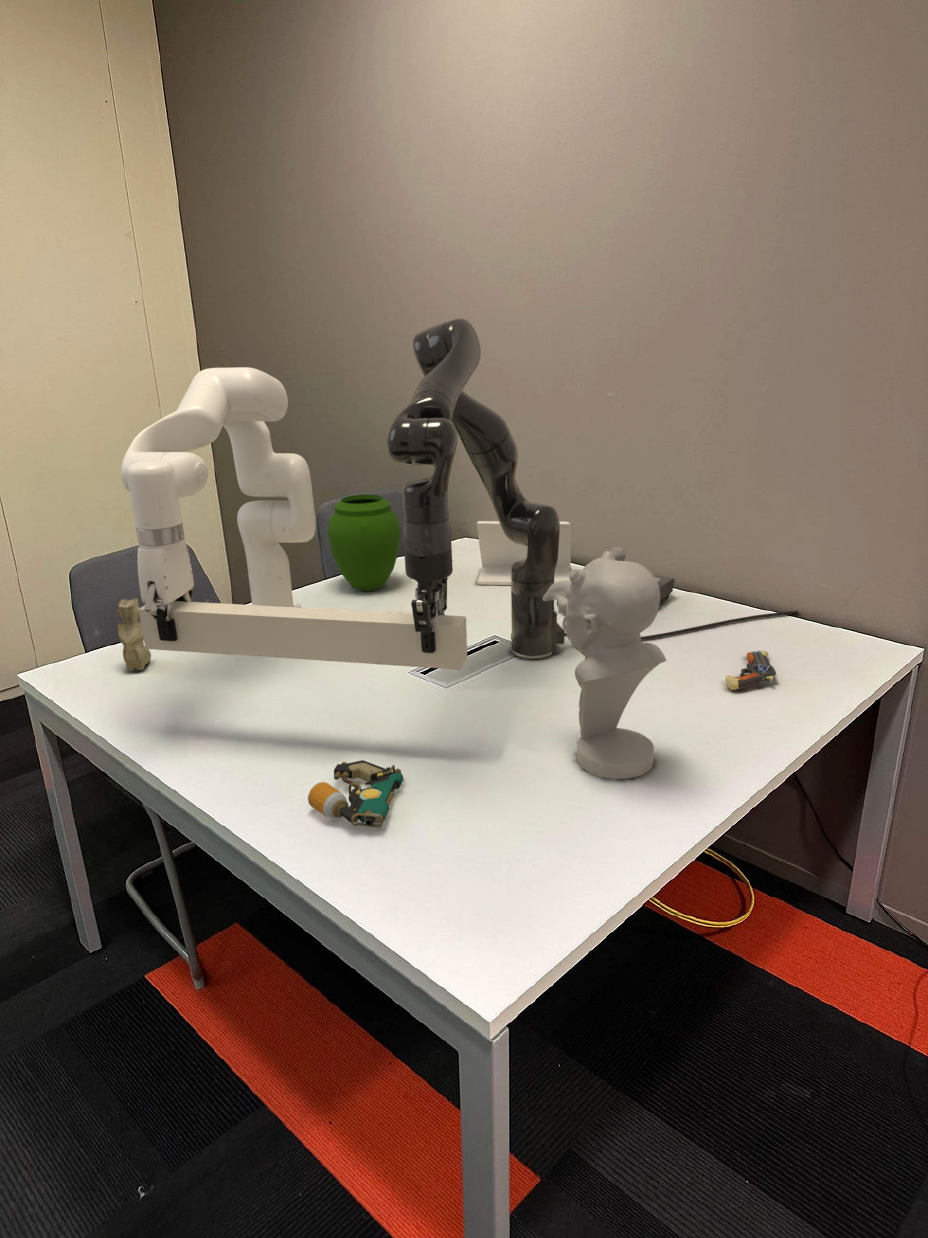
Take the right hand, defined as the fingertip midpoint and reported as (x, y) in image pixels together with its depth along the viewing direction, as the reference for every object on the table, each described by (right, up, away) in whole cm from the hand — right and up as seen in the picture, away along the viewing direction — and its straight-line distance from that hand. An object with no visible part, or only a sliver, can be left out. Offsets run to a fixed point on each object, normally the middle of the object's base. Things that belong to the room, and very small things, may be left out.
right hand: (433, 645), depth 141 cm
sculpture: (-66, -6, +45) cm, 80 cm away
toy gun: (+63, -7, +33) cm, 71 cm away
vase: (-21, +13, +92) cm, 95 cm away
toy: (+43, +8, +74) cm, 86 cm away
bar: (-23, -2, +6) cm, 24 cm away
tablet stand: (+22, +16, +98) cm, 102 cm away
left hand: (-46, +2, +10) cm, 47 cm away
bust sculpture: (+27, -19, +5) cm, 33 cm away
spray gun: (-11, -24, -7) cm, 27 cm away
